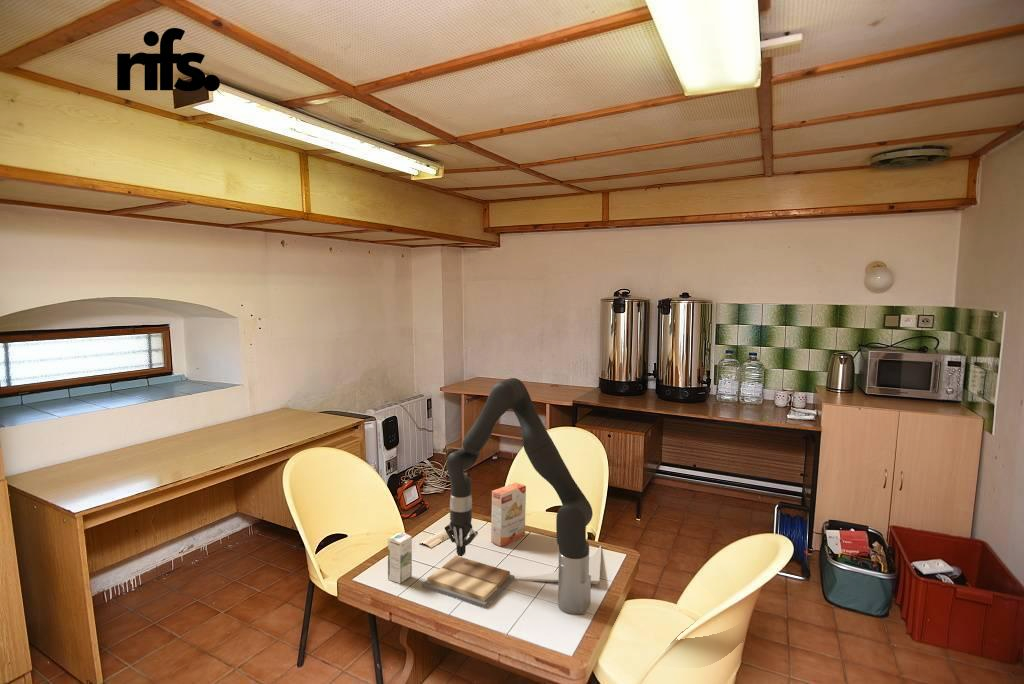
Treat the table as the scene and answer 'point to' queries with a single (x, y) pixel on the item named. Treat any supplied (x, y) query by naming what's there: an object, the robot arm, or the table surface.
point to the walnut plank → (478, 570)
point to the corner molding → (593, 571)
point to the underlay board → (467, 598)
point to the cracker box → (508, 514)
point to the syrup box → (399, 557)
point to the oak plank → (462, 583)
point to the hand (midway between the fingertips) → (460, 555)
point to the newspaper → (436, 539)
